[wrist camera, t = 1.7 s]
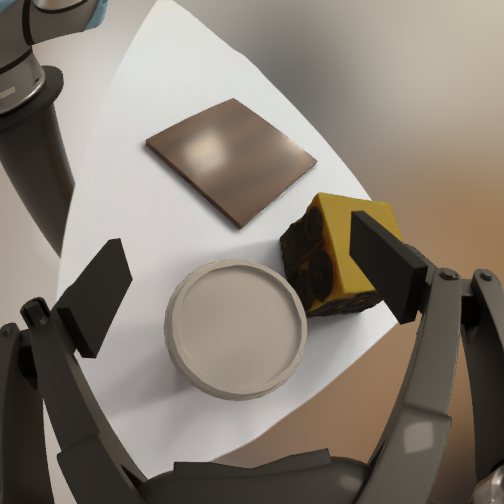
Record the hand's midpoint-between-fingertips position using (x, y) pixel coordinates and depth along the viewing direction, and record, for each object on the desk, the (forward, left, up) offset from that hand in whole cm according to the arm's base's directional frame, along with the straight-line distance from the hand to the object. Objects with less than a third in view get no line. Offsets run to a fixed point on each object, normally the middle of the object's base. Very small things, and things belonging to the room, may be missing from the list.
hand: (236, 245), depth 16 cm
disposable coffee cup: (+3, -2, -15) cm, 16 cm away
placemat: (-13, +19, -15) cm, 27 cm away
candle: (+7, +13, -15) cm, 21 cm away
